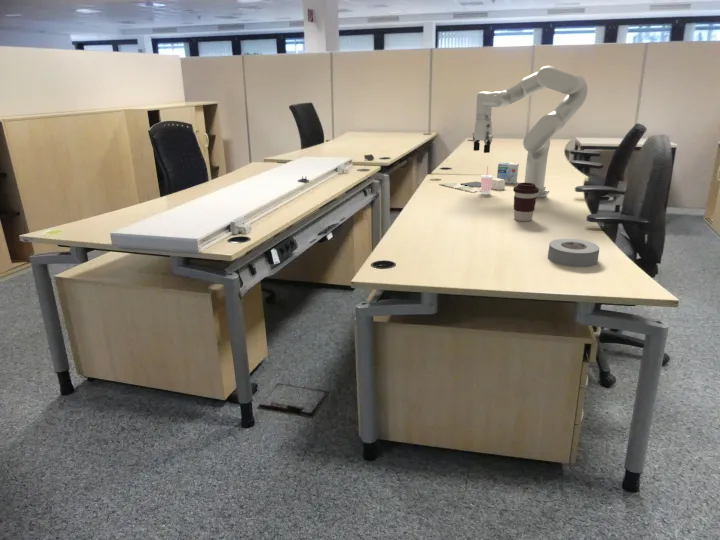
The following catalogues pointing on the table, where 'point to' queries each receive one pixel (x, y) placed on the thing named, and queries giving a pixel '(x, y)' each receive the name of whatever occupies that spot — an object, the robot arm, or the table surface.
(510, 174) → the light bulb box
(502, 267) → the table surface
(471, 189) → the track
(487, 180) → the beverage cup
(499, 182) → the die
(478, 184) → the mat
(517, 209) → the coffee cup
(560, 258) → the tape roll
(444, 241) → the table surface
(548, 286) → the table surface
